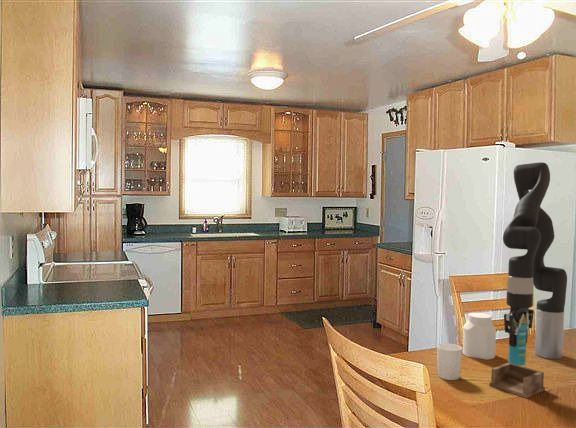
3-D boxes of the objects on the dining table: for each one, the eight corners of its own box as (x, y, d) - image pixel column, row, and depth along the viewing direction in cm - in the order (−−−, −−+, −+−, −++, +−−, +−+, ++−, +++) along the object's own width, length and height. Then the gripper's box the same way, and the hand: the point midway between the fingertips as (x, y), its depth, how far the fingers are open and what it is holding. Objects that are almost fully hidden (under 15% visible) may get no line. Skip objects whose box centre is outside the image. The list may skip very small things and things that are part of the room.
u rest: (507, 378, 168) (508, 361, 168) (544, 389, 159) (545, 372, 158) (489, 385, 161) (489, 368, 161) (526, 398, 152) (527, 380, 152)
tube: (516, 367, 156) (519, 305, 155) (502, 362, 160) (504, 301, 159) (531, 363, 160) (533, 302, 159) (516, 358, 164) (518, 299, 163)
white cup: (448, 382, 164) (449, 351, 163) (431, 374, 171) (431, 345, 170) (466, 378, 167) (467, 348, 167) (448, 371, 174) (449, 342, 174)
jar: (496, 353, 194) (497, 314, 193) (493, 360, 185) (495, 320, 185) (464, 348, 199) (465, 310, 199) (460, 355, 191) (461, 316, 190)
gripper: (520, 286, 166) (518, 337, 167) (496, 291, 157) (494, 345, 158) (543, 290, 160) (541, 343, 161) (519, 295, 151) (517, 351, 152)
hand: (518, 344), depth 159 cm, fingers closed on tube, 5 cm apart
